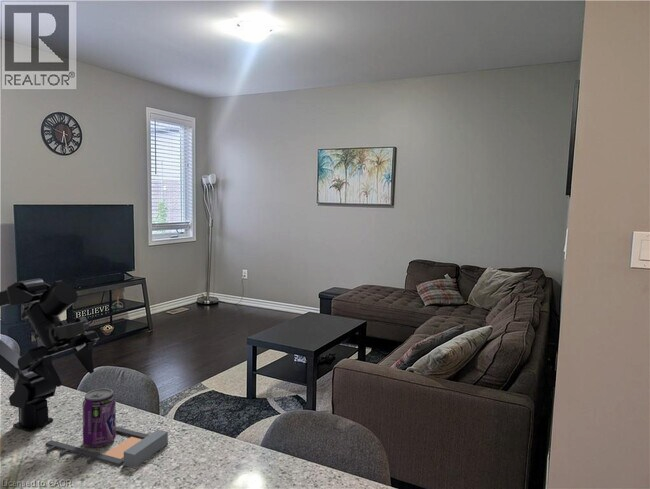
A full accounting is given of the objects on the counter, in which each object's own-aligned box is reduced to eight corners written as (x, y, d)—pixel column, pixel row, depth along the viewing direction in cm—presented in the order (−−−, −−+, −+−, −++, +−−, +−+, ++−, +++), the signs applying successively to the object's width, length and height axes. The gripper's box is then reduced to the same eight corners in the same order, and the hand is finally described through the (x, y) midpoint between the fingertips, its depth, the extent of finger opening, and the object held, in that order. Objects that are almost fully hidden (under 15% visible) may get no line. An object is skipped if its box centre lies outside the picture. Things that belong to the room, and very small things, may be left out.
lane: (38, 449, 106) (37, 437, 106) (89, 422, 120) (89, 411, 119) (125, 474, 98) (125, 461, 97) (169, 442, 111) (169, 430, 111)
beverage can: (102, 451, 106) (102, 401, 105) (76, 447, 108) (75, 397, 107) (122, 436, 113) (121, 389, 112) (96, 432, 115) (96, 386, 114)
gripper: (30, 316, 102) (62, 377, 100) (97, 300, 120) (126, 352, 118) (3, 340, 106) (33, 399, 104) (72, 321, 123) (99, 372, 121)
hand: (76, 379), depth 112 cm, fingers open, 9 cm apart
